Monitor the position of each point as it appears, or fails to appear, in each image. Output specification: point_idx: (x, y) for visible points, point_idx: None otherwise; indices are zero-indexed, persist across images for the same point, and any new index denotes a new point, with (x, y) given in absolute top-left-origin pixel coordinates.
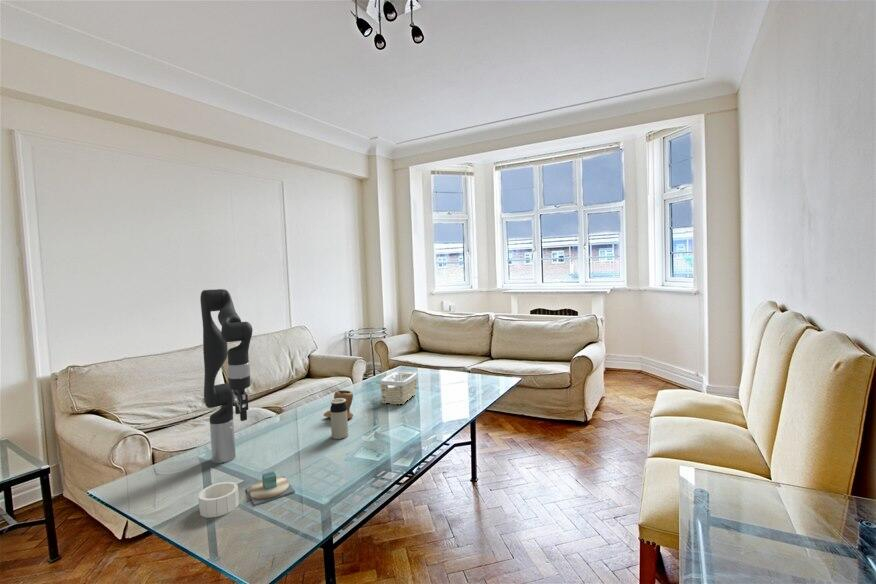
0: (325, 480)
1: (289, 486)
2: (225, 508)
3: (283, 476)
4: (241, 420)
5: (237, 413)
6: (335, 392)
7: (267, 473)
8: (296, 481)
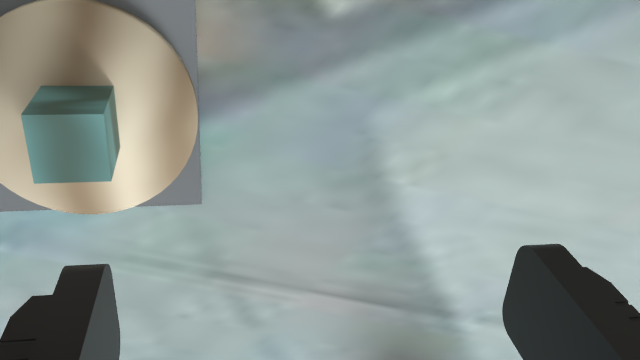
0: None
1: None
2: None
3: (200, 202)
4: (68, 276)
5: (520, 267)
6: None
7: (91, 144)
8: (115, 239)
